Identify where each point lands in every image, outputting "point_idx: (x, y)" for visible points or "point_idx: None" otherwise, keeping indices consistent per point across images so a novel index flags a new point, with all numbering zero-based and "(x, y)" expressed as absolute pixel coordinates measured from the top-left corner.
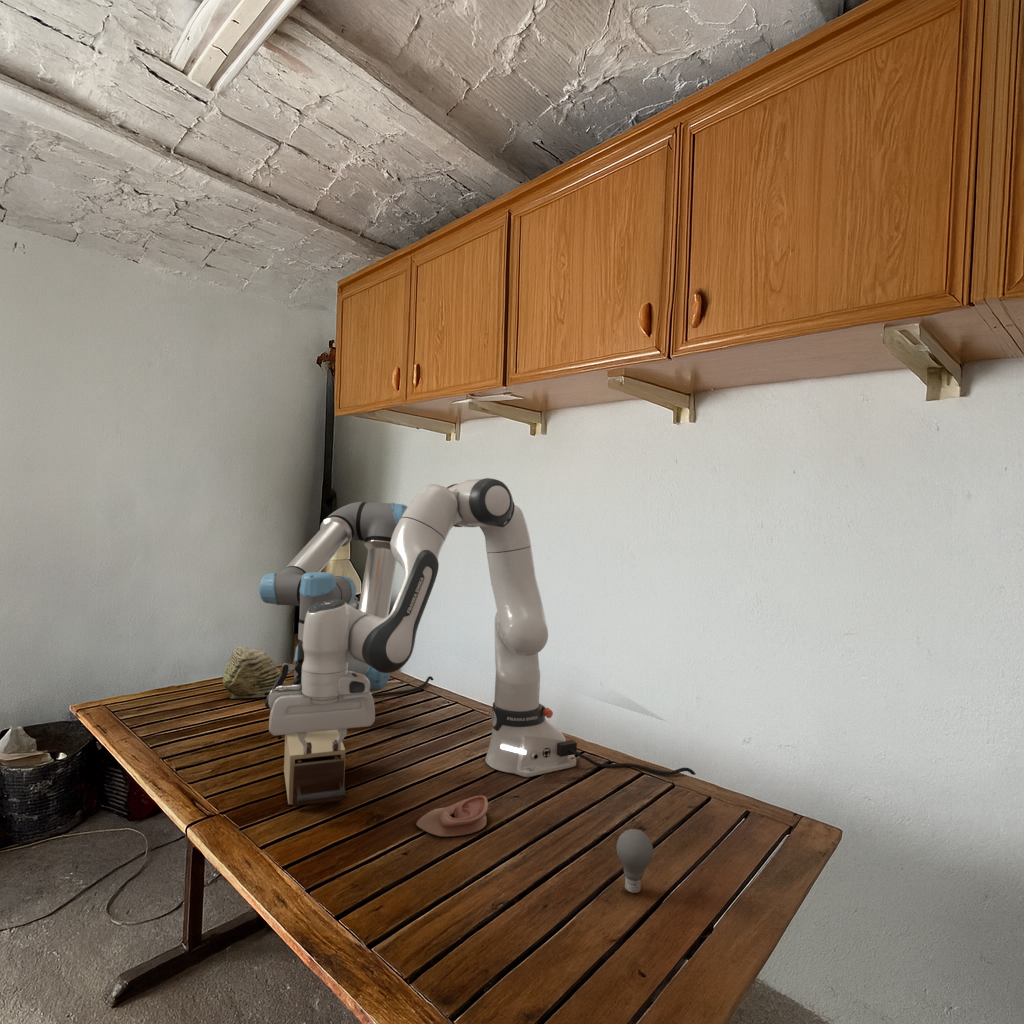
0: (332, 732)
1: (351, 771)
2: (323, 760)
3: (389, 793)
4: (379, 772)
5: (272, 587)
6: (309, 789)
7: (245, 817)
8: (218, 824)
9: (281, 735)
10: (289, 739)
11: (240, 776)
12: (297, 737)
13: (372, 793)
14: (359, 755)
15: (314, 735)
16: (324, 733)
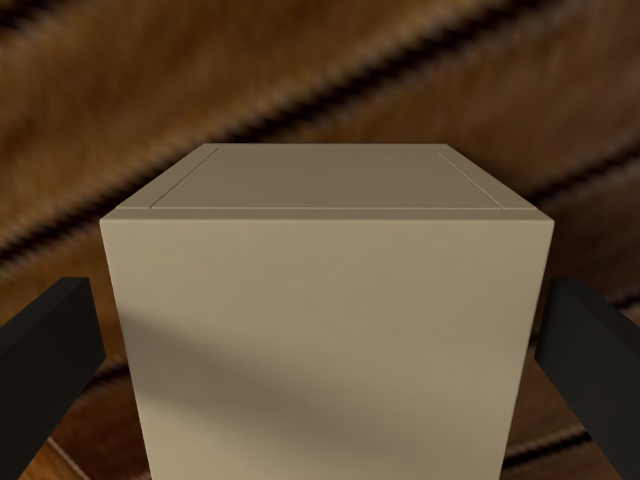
0: (466, 416)
1: None
2: None
3: (571, 437)
4: (617, 276)
5: None
6: None
7: (106, 454)
8: (35, 468)
9: (92, 375)
10: (158, 455)
11: (3, 139)
12: (211, 438)
13: (517, 423)
14: (618, 41)
15: (330, 433)
16: (406, 419)
